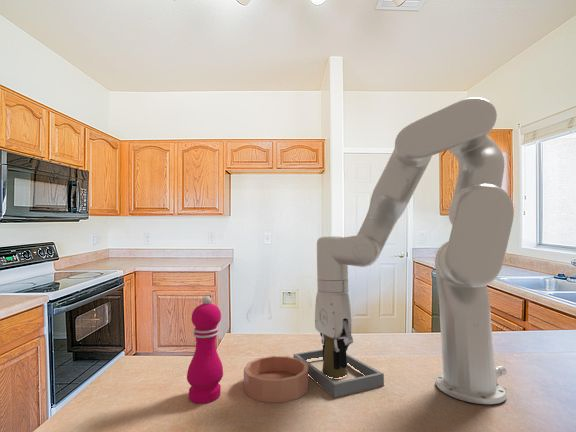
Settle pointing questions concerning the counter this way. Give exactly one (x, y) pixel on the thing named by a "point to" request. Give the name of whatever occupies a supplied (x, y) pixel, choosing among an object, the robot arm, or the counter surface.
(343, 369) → the olive pestle
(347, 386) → the grey rectangular frame
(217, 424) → the counter surface
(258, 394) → the bowl
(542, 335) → the counter surface
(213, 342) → the pepper mill
